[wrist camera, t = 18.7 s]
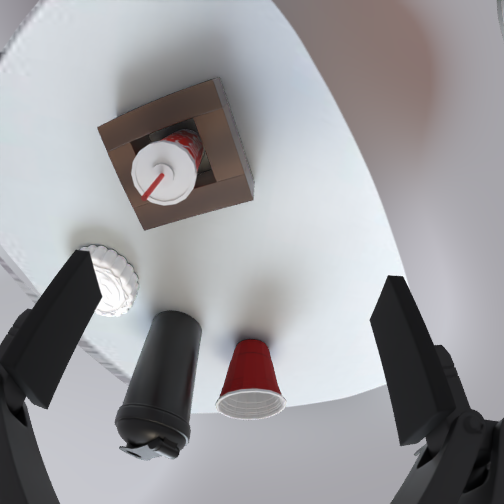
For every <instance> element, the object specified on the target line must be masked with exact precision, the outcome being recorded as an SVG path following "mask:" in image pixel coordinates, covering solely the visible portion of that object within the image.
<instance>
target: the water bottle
mask: <svg viewBox="0 0 504 504" xmlns="http://www.w3.org/2000/svg"><path fill="white" fill-rule="evenodd" d="M201 334H202V330H201V327H200V325H199V323H198V322H197V321H196V320H195V319H194V318H192V317H191V316H189V315H187V314H185V313H182V312H178V311H164V312H161V313H159V314H157V315H156V316H155V318H154V320H153V322H152V325H151V327H150V330H149V333H148V335H147V338H146V340H145V343H144V346H143V348H142V351H141V354H140V357H139V359H138V362H137V365H136V367H135V370H134V373H133V376H132V379H131V381H130V384H129V387H128V390H127V393H126V396H125V399H124V402H123V405H122V406H121V407H120V408H119V410H118V412H117V415H116V419H115V425H116V427H117V429H118V433H119V434H120V436H121V437H122V439H124V441H125V442H126V443H127V446H126V447H123V446H122V447H121V446H120V447H119V449H121V450H122V451H124V452H126V453H128V454H130V455H132V456H134V457H136V458H138V459H141V460H150V459H151V458H155V457H159V456H165V457H167V458H170V459H175V458H176V457H178V455H179V452H180V450H181V449H183V447H184V446H186V445H187V444H188V443H189V438H190V431H191V430H190V425H189V420H190V412H191V404H192V397H193V389H194V382H195V375H196V368H197V361H198V354H199V347H200V341H201Z"/></svg>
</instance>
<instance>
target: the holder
mask: <svg viewBox="0 0 504 504" xmlns="http://www.w3.org/2000/svg"><path fill="white" fill-rule="evenodd" d="M191 118H193V119H194V122H195V125H196V127H197V130H198V133H199V136H200V138H201V141H202V144H203V146H204V149H205V152H206V155H207V157H208V160H209V163H210V166H211V168H212V170H209V171H206V172H203V173H199V174H197V178H196V182H195V186H194V188H193V190H192V191H191V192H190V194H189V195H188V196H187V198H186V199H184V200H182V201H180V202H179V203H177V204H173V205H165V206H163V205H159V204H155V203H152V202H150V201H149V200H146V201H143V200H142V199H141V197H142V196H141V194H140V193H139V191H138V190H137V189H136V187H135V186H134V182H133V179H132V175H131V172H132V164H133V161H134V159H135V157H136V156H137V154H138V152H139V151H140V150H142V149H143V148H144V147H146V146H147V145H149V144H150V143H151V142H150V139H149V137H148V134H151V133H153V132H156V131H158V130H161V129H164V128H166V127H169V126H171V125H174V124H177V123H180V122H182V121H185V120H188V119H191ZM97 129H98V131H99V133H100V136H101V138H102V141H103V143H104V145H105V148H106V150H107V152H108V155H109V157H110V159H111V162H112V164H113V166H114V168H115V171H116V173H117V175H118V177H119V179H120V182H121V184H122V186H123V188H124V190H125V192H126V194H127V196H128V199H129V201H130V203H131V205H132V207H133V209H134V211H135V213H136V215H137V217H138V219H139V221H140V223H141V225H142V227H143V229H144V230H148V229H151V228H155V227H158V226H161V225H165V224H168V223H172V222H175V221H179V220H182V219H186V218H189V217H193V216H196V215H200V214H203V213H207V212H211V211H214V210H218V209H222V208H225V207H229V206H233V205H237V204H241V203H244V202H248V201H252V200H253V198H254V183H255V182H254V179H253V176H252V173H251V170H250V167H249V164H248V161H247V158H246V154H245V151H244V148H243V145H242V142H241V139H240V136H239V133H238V130H237V127H236V124H235V121H234V118H233V115H232V112H231V109H230V106H229V103H228V100H227V97H226V94H225V91H224V88H223V85H222V82H221V79H220V77H219V78H215V79H211V80H208V81H205V82H202V83H199V84H197V85H194V86H191V87H188V88H186V89H183V90H180V91H178V92H175V93H172V94H170V95H167V96H165V97H162V98H160V99H157V100H155V101H153V102H150V103H148V104H146V105H143V106H141V107H139V108H137V109H134V110H132V111H130V112H128V113H126V114H123V115H121V116H119V117H117V118H115V119H113V120H111V121H109V122H107V123H105V124H103V125H101V126H99V127H98V128H97Z"/></svg>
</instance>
